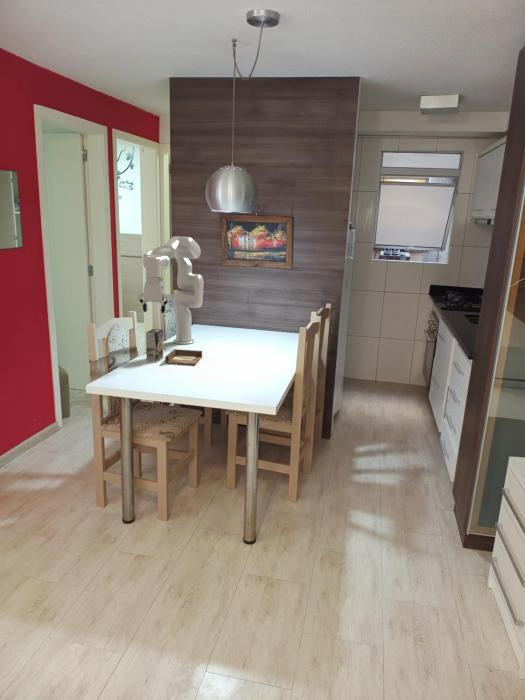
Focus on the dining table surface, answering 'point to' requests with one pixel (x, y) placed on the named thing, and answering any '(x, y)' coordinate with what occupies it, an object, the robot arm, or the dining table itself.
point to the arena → (183, 357)
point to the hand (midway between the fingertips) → (154, 312)
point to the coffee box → (154, 345)
